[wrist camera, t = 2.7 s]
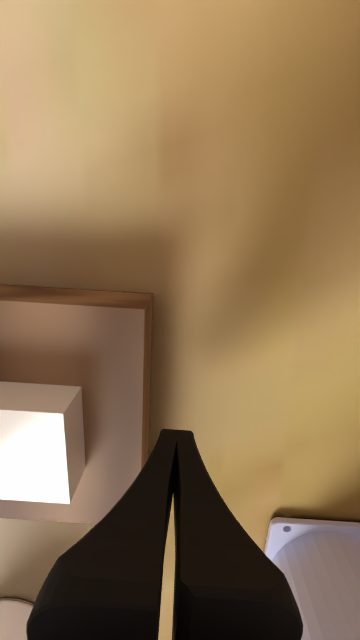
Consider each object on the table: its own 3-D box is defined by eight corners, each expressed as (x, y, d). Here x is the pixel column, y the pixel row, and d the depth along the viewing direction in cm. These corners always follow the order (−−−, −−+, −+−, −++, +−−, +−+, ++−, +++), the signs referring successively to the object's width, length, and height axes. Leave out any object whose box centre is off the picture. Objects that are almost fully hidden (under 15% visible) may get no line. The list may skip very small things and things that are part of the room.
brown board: (152, 293, 15) (144, 309, 12) (147, 480, 18) (140, 527, 15) (-122, 277, 15) (-196, 288, 12) (-74, 465, 18) (-122, 509, 16)
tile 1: (81, 386, 13) (63, 413, 11) (85, 467, 14) (69, 504, 12) (-19, 380, 13) (-55, 406, 11) (-6, 461, 14) (-35, 496, 12)
